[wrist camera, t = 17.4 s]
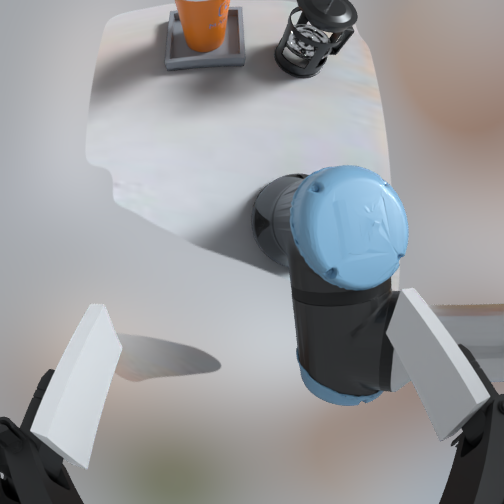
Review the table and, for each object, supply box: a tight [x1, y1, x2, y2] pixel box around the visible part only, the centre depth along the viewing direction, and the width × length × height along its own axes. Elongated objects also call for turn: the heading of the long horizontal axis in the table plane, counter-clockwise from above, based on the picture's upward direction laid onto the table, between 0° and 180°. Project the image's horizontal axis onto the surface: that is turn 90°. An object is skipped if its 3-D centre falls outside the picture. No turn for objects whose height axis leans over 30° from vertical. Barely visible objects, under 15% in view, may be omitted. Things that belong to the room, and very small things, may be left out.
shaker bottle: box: [175, 0, 230, 52], centre depth 30 cm, size 9×9×20 cm
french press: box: [274, 0, 357, 78], centre depth 31 cm, size 12×9×23 cm
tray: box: [165, 7, 245, 71], centre depth 39 cm, size 14×14×3 cm
